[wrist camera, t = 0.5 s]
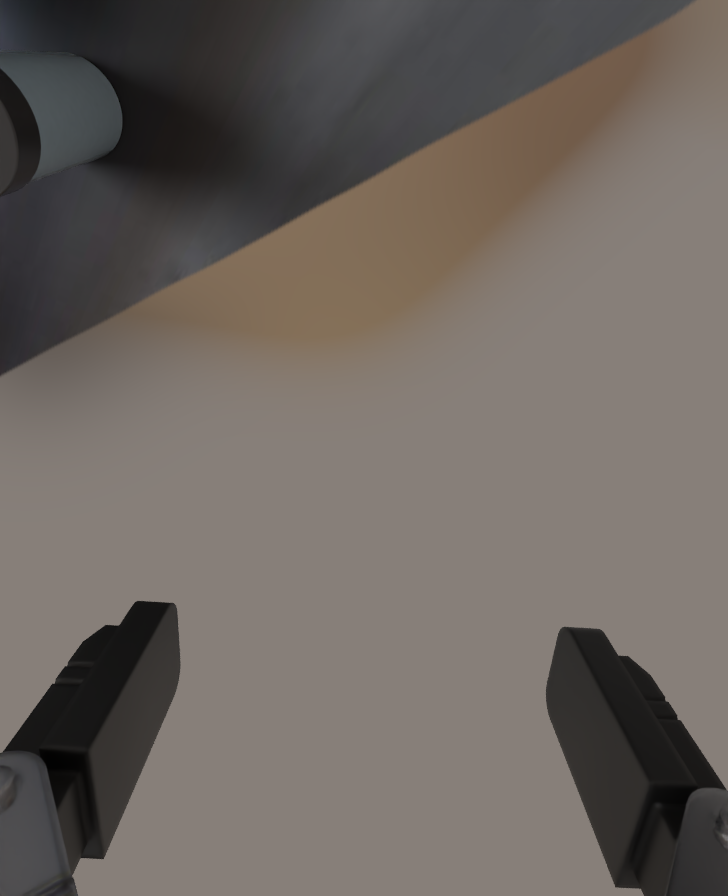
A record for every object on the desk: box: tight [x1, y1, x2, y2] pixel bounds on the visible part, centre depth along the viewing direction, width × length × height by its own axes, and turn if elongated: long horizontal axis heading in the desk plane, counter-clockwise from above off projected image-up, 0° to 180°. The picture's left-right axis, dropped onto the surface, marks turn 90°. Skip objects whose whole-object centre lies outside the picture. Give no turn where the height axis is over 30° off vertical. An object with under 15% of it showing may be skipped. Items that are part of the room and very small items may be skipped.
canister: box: [0, 50, 122, 197], centre depth 26 cm, size 5×5×12 cm
